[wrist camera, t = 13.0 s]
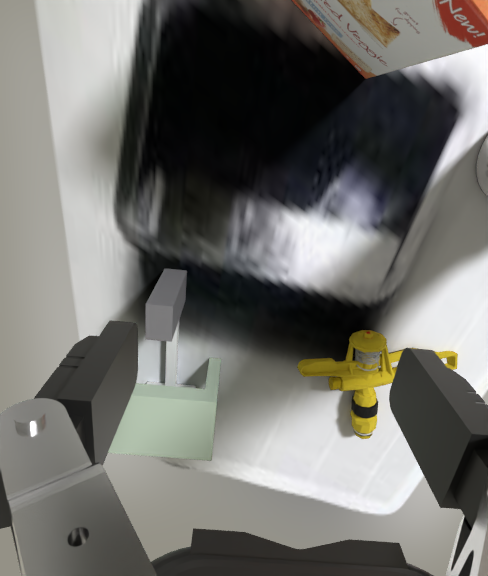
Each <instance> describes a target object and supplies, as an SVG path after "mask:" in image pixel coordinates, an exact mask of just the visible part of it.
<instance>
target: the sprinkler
mask: <svg viewBox="0 0 488 576" xmlns="http://www.w3.org/2000/svg"><path fill="white" fill-rule="evenodd" d="M386 341H387V339H386V338H385V337H384V336H383V335H382V334H380V333H377V332H374V331H371V330H361V331H358V332H355V333H353V334H352V335H351V336H350V339H349V342H350V343H349V347H348V352H347V356H346V360H344V361H343V362H335V361H334V360H333V359H332V358H321V359H303V360H302V361H300V362H299V364H298V367H297V368H298V370H299V371H300V373H301V374H302V375H303V376H304V377H305V376H338V377H330V378H329V387H330V389H331V390H336V389H339V390H340V391H349V390H355V393H354V396H353V397H352V410H351V413H350V415H351V417H352V426H353V428H354V432H355V435H356V436H358V437H360V438H361V439H368V438H370V436H371V435H372V433H373V430H374V429H375V428H376V423H377V416H376V414H377V410H378V401H377V398H376V393H375V390H374V387H377V386H381V385H382V386H383V385H386V384H390V383H393V379H394V376H395V373H396V369H397V367H395V368H392V366H391V363H392V362H396V361H399V360H400V356H401V354H402V352H403V350H402V351H398V352H394V353H390V354H389V353H388V349H387V345H386ZM353 347H354V348H355V361H352V358H353ZM413 349H416V348H413ZM381 350H382V354H380V351H381ZM359 352H360V353H359ZM435 353H436V355H437V356H438V357H439V358H440V359H442V358H446V357H447V362H448V363H447V364H445V366H446V367H447V368H450V369H452V370H453V369H457V355H458V354H457V353H455V352H453V351H443V352H435ZM359 356H360V357H359ZM374 356H376V357H374ZM358 357H359V358H361V357H362V358H361V359H362V360H361V359H359V358H358ZM372 357H373V358H372ZM356 360H357V361H356ZM378 366H381V369H379V368H378Z"/></svg>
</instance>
